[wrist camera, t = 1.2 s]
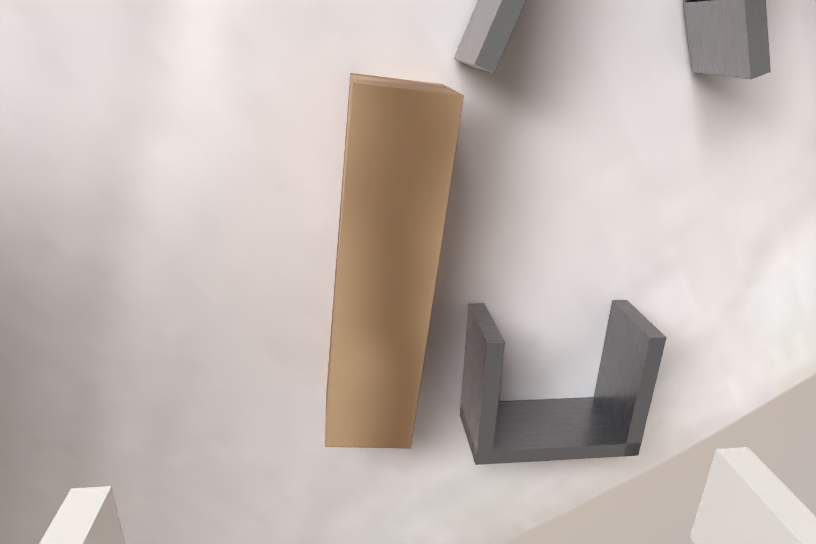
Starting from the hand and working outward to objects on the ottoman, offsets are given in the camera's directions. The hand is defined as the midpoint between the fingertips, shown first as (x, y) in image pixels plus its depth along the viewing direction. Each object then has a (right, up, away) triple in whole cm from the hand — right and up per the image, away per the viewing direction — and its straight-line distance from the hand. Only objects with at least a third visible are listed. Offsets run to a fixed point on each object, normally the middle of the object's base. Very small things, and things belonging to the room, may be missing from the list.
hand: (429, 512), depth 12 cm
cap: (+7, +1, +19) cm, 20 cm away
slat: (-2, +7, +15) cm, 17 cm away
